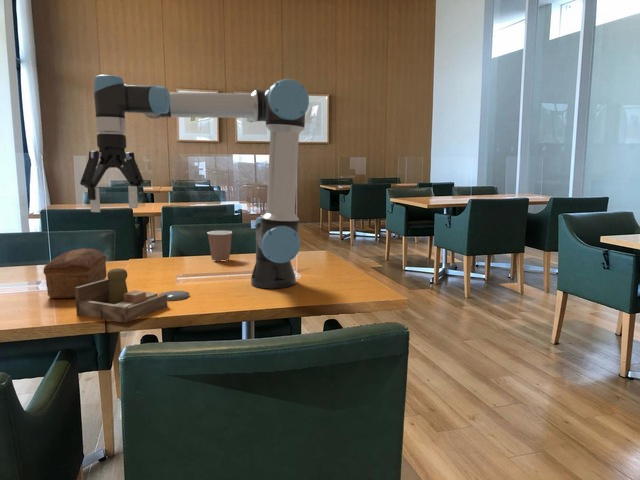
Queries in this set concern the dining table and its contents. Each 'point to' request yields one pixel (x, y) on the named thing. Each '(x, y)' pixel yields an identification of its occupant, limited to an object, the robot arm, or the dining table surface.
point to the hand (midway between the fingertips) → (115, 210)
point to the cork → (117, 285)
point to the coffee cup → (220, 244)
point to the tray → (96, 304)
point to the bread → (74, 271)
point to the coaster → (176, 295)
